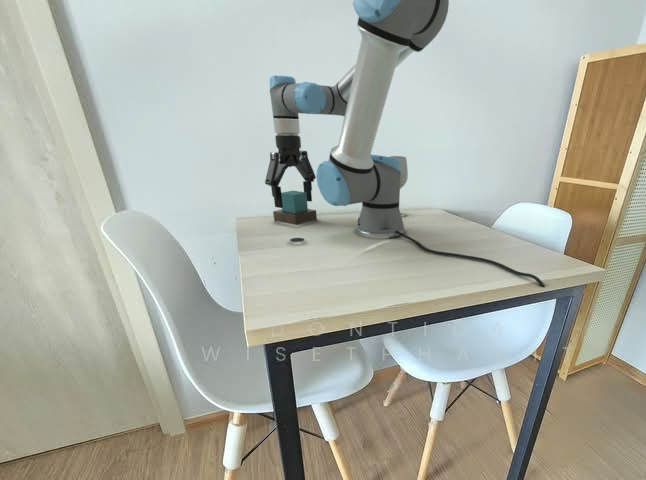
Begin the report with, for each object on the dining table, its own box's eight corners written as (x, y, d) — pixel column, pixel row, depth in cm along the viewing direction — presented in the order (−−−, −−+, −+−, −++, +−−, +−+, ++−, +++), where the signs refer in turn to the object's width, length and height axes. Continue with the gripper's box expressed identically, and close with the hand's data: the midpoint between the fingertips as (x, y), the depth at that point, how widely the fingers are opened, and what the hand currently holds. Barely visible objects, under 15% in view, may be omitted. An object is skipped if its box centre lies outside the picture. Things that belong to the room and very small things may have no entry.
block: (307, 210, 122) (306, 192, 119) (295, 213, 117) (293, 194, 115) (294, 208, 125) (293, 190, 122) (282, 211, 120) (280, 192, 117)
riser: (317, 221, 125) (316, 210, 123) (296, 227, 117) (295, 215, 115) (295, 217, 129) (294, 206, 127) (274, 223, 121) (273, 211, 119)
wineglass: (409, 216, 136) (412, 157, 127) (391, 218, 133) (392, 157, 124) (400, 212, 142) (402, 155, 133) (383, 213, 139) (383, 155, 130)
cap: (307, 242, 103) (307, 239, 102) (297, 246, 100) (297, 242, 99) (297, 240, 104) (296, 236, 104) (287, 243, 101) (286, 240, 101)
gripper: (306, 134, 122) (311, 197, 131) (245, 134, 102) (256, 208, 112) (323, 135, 119) (327, 199, 128) (264, 135, 99) (273, 212, 109)
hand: (294, 204), depth 120 cm, fingers open, 13 cm apart
